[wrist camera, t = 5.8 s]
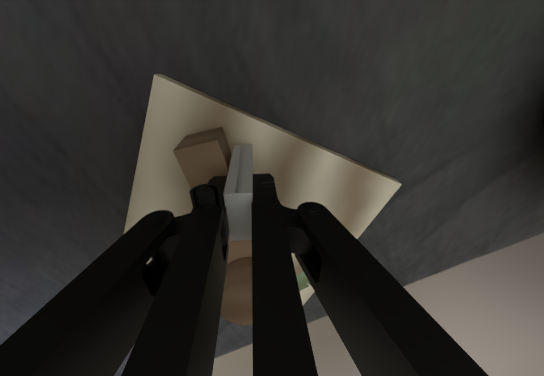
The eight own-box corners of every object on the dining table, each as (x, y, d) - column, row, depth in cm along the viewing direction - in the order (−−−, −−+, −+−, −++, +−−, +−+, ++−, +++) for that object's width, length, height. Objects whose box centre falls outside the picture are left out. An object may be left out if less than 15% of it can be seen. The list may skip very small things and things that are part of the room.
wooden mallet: (289, 300, 27) (301, 366, 21) (254, 308, 27) (257, 375, 21) (236, 119, 16) (229, 153, 10) (177, 134, 16) (136, 176, 10)
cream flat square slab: (119, 275, 24) (113, 285, 23) (160, 73, 15) (153, 74, 14) (292, 307, 31) (294, 316, 30) (394, 178, 22) (402, 184, 21)
